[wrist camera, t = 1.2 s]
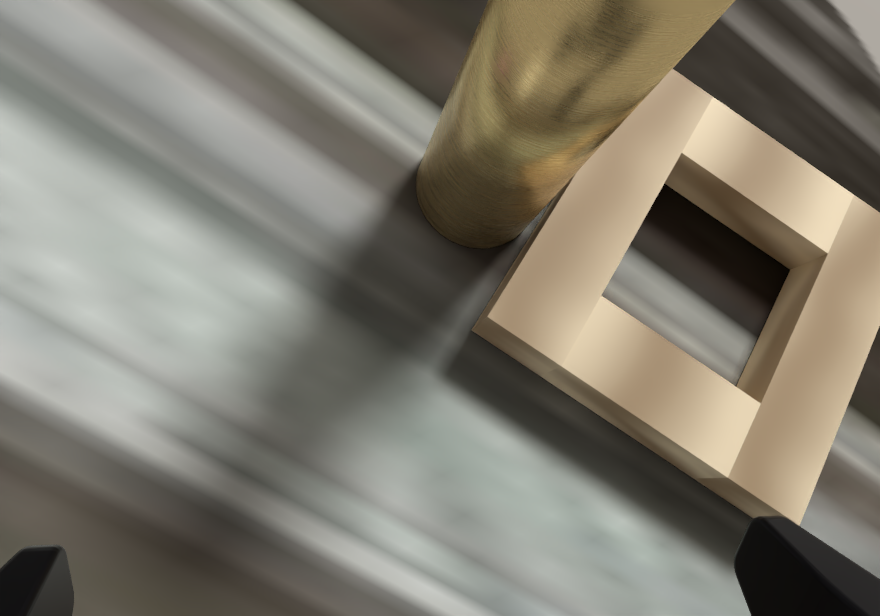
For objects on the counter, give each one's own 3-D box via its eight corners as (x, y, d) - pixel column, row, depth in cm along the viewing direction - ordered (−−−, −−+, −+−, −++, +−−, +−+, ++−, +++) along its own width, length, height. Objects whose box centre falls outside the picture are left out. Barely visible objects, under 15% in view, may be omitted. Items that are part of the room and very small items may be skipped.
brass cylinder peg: (555, 179, 26) (797, -97, 14) (497, 272, 25) (707, 58, 12) (456, 111, 26) (611, -229, 14) (392, 201, 25) (499, -86, 12)
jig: (872, 254, 28) (915, 237, 26) (759, 522, 25) (799, 525, 23) (625, 82, 28) (650, 53, 26) (471, 330, 24) (487, 316, 22)
